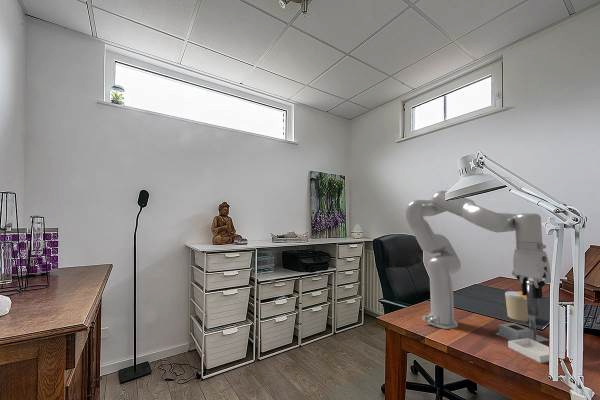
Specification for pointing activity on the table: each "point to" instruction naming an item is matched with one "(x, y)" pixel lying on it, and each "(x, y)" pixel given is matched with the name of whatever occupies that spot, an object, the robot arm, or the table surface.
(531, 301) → the pin
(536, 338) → the hitch
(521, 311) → the coffee cup
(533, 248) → the robot arm
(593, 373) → the table surface
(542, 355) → the tray
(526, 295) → the yellow curved piece
